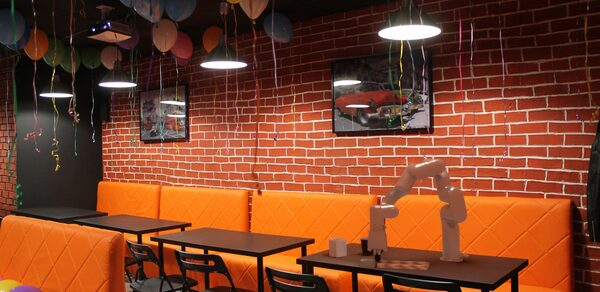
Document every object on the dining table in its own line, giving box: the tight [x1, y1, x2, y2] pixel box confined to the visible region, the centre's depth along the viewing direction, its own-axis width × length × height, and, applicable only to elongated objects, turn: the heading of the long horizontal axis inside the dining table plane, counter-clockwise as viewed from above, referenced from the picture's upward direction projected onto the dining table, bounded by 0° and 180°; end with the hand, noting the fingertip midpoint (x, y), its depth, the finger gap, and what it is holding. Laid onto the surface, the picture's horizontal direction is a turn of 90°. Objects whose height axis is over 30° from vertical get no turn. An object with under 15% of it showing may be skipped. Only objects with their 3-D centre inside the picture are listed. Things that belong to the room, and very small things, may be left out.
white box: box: [328, 237, 348, 258], centre depth 321 cm, size 11×12×10 cm
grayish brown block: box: [359, 258, 378, 269], centre depth 289 cm, size 8×6×4 cm
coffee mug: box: [359, 236, 374, 257], centre depth 322 cm, size 12×9×10 cm
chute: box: [376, 259, 430, 271], centre depth 283 cm, size 26×10×3 cm, turn 70°
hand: (377, 261), depth 288 cm, fingers closed
